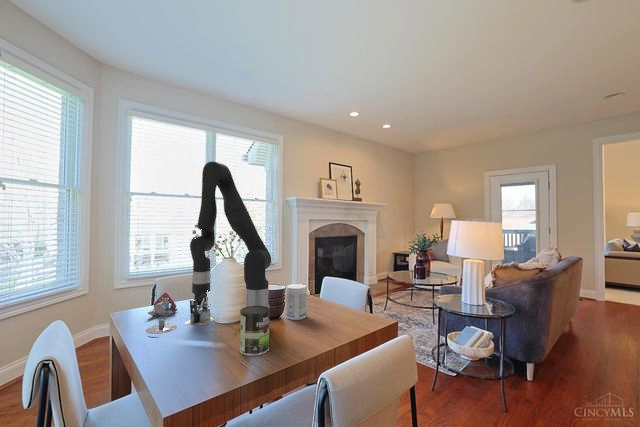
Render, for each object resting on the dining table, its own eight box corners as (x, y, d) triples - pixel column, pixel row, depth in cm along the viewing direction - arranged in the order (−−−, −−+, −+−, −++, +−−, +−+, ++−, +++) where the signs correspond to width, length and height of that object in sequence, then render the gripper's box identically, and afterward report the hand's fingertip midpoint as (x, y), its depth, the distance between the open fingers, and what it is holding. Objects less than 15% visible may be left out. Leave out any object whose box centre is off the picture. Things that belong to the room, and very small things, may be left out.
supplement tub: (304, 313, 149) (305, 283, 149) (308, 320, 140) (308, 287, 140) (284, 314, 147) (285, 284, 147) (286, 321, 137) (287, 288, 138)
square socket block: (210, 318, 135) (210, 309, 135) (203, 323, 129) (203, 313, 129) (197, 317, 136) (198, 308, 136) (190, 322, 130) (190, 312, 130)
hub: (182, 328, 127) (182, 316, 127) (165, 338, 116) (165, 325, 116) (157, 326, 128) (158, 314, 128) (139, 336, 117) (139, 323, 117)
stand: (216, 320, 137) (217, 309, 137) (205, 328, 127) (205, 316, 127) (195, 319, 138) (196, 308, 138) (183, 327, 128) (183, 315, 128)
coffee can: (275, 348, 109) (276, 308, 109) (254, 359, 100) (255, 315, 101) (254, 341, 115) (254, 303, 115) (233, 351, 106) (233, 310, 106)
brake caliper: (184, 307, 148) (175, 291, 141) (173, 327, 139) (163, 311, 132) (163, 306, 149) (153, 290, 142) (150, 326, 141) (139, 310, 134)
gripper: (200, 285, 125) (199, 326, 125) (217, 278, 139) (216, 315, 139) (183, 284, 126) (182, 325, 126) (201, 277, 140) (201, 314, 140)
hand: (200, 319), depth 133 cm, fingers closed on square socket block, 6 cm apart
